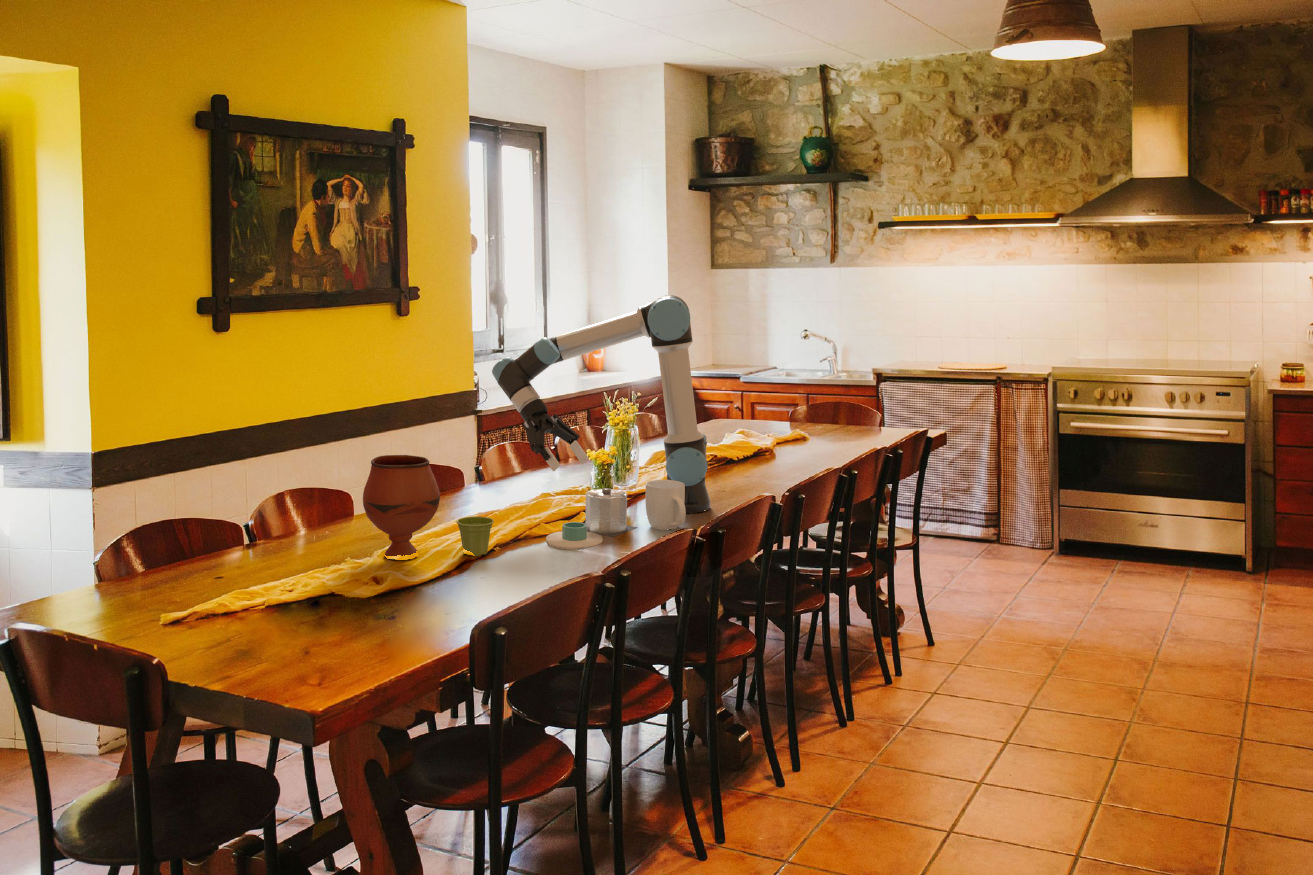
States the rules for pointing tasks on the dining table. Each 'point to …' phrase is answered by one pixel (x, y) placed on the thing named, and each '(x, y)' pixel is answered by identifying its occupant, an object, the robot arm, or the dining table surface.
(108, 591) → the dining table surface
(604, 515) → the cover
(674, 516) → the mug
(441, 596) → the dining table surface
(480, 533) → the plant pot
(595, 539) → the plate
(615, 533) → the mat
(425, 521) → the goblet
